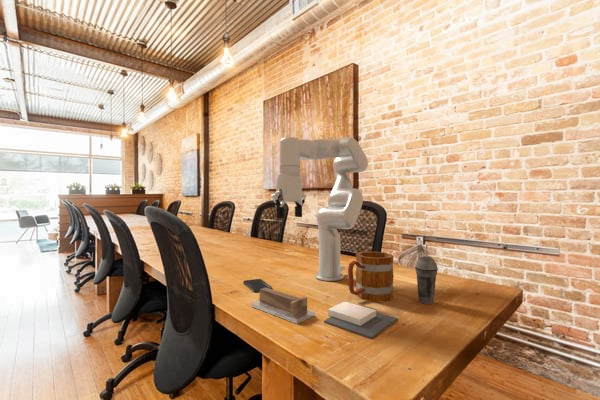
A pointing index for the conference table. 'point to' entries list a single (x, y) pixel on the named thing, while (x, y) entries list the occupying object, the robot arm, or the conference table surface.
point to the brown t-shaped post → (283, 301)
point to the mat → (365, 325)
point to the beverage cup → (426, 278)
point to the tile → (352, 313)
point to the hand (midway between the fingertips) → (289, 217)
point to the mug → (372, 276)
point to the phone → (256, 285)
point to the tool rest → (283, 312)
